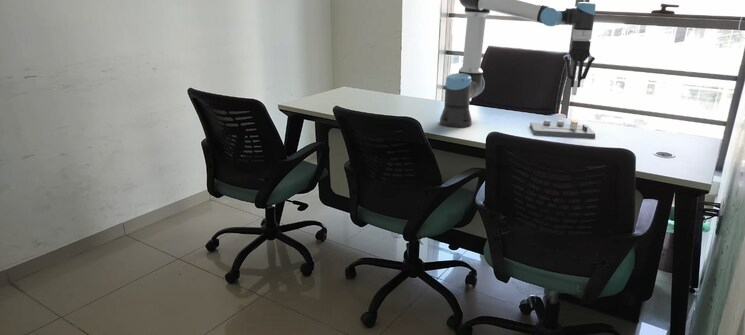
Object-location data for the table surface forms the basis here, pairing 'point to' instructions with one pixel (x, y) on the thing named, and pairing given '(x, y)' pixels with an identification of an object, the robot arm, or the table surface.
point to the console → (561, 129)
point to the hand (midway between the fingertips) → (573, 94)
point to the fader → (573, 124)
